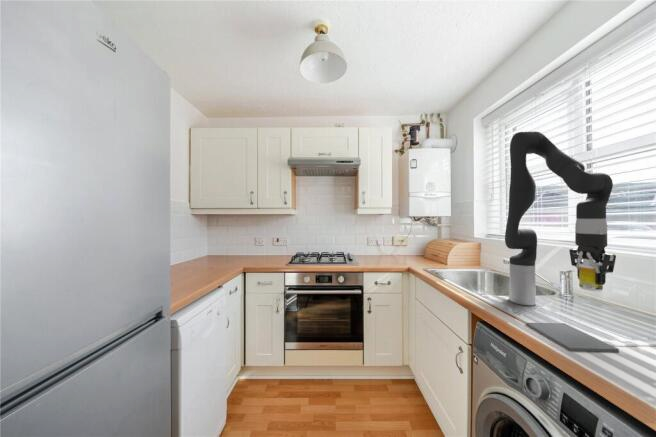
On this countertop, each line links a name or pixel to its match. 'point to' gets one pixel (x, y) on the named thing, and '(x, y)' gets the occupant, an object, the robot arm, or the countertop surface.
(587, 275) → the supplement bottle
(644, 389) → the countertop surface
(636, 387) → the countertop surface
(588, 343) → the mat
